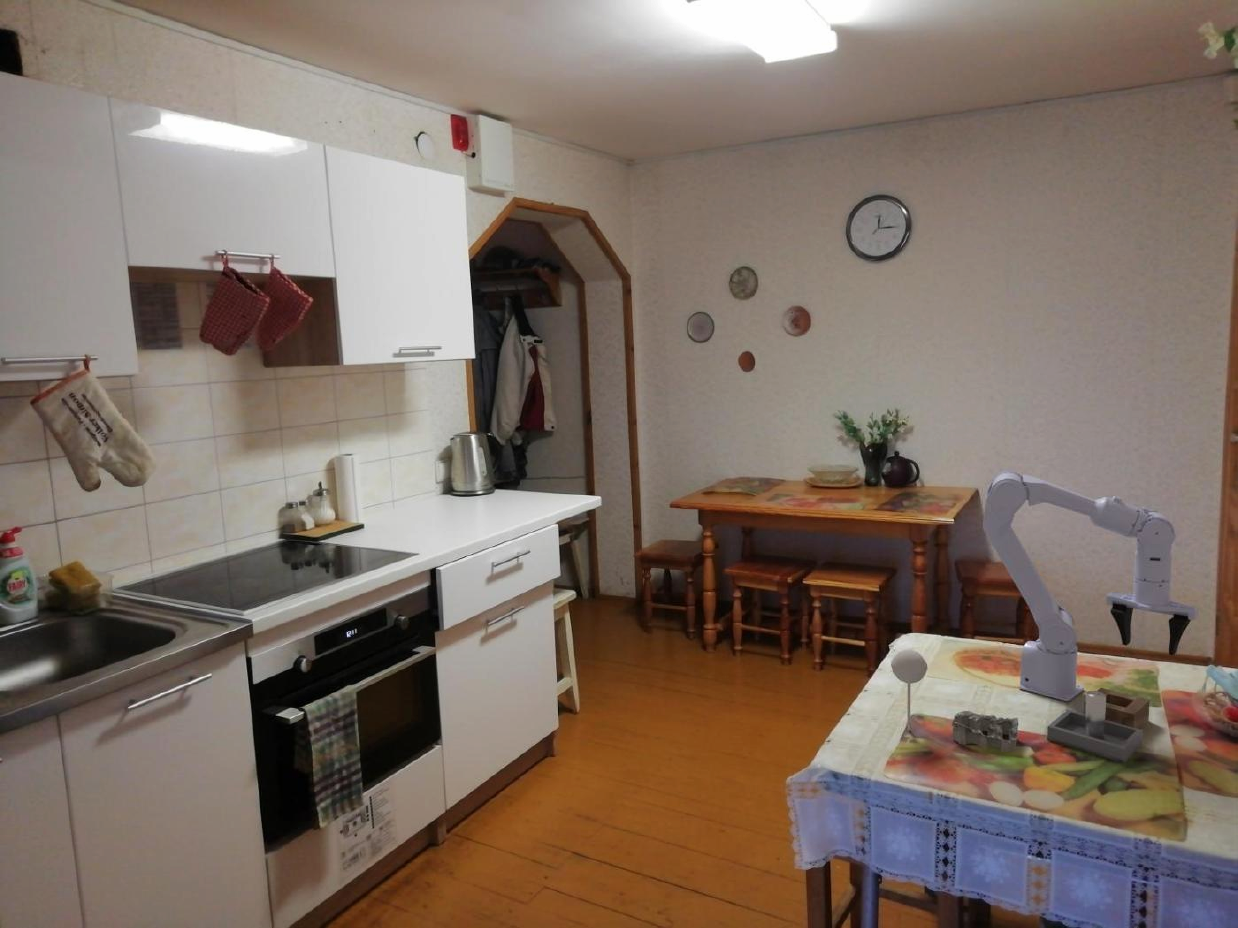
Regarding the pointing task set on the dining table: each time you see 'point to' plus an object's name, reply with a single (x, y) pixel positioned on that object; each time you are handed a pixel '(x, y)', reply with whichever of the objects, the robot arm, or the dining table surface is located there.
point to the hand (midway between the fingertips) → (1149, 648)
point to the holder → (1125, 709)
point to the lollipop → (909, 671)
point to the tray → (1116, 744)
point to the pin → (1095, 715)
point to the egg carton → (972, 725)
